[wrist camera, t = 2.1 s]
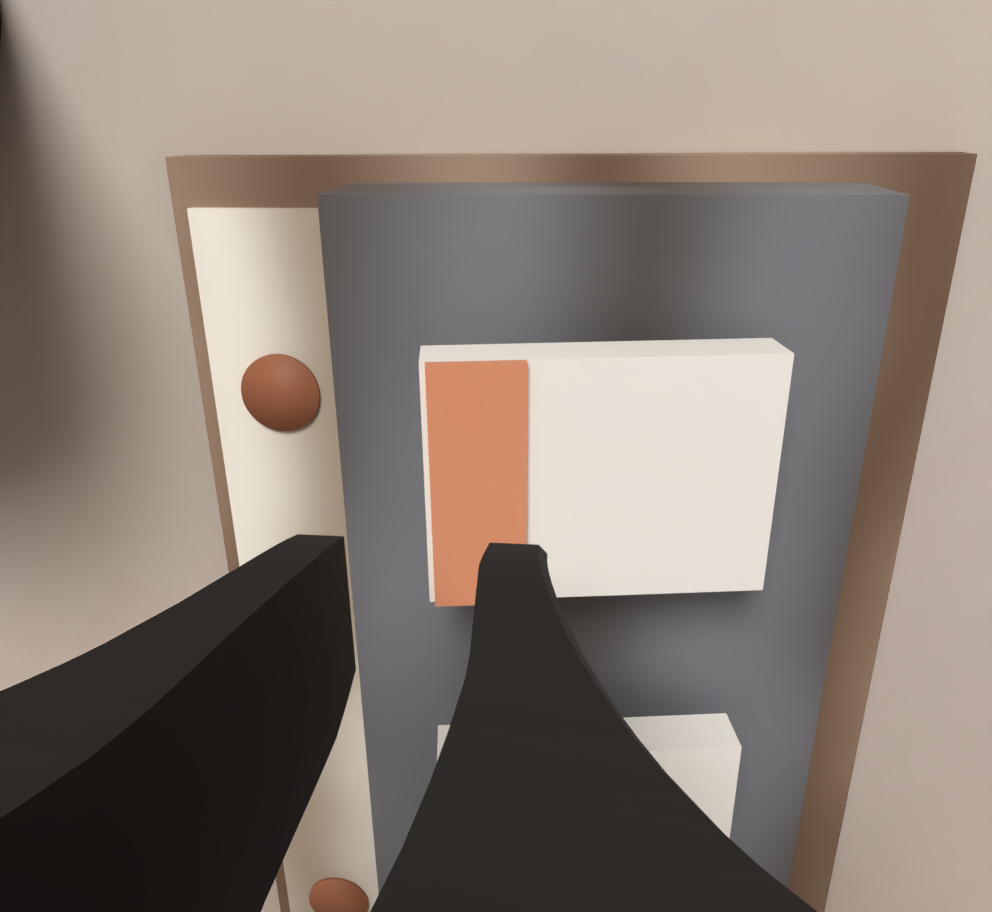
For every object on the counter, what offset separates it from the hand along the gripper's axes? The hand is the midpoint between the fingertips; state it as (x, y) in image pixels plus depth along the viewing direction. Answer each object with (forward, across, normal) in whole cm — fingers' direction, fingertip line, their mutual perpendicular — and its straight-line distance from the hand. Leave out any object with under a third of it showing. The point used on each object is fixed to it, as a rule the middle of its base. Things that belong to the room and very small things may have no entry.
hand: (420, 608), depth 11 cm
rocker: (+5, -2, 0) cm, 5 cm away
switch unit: (+9, -1, +8) cm, 12 cm away
